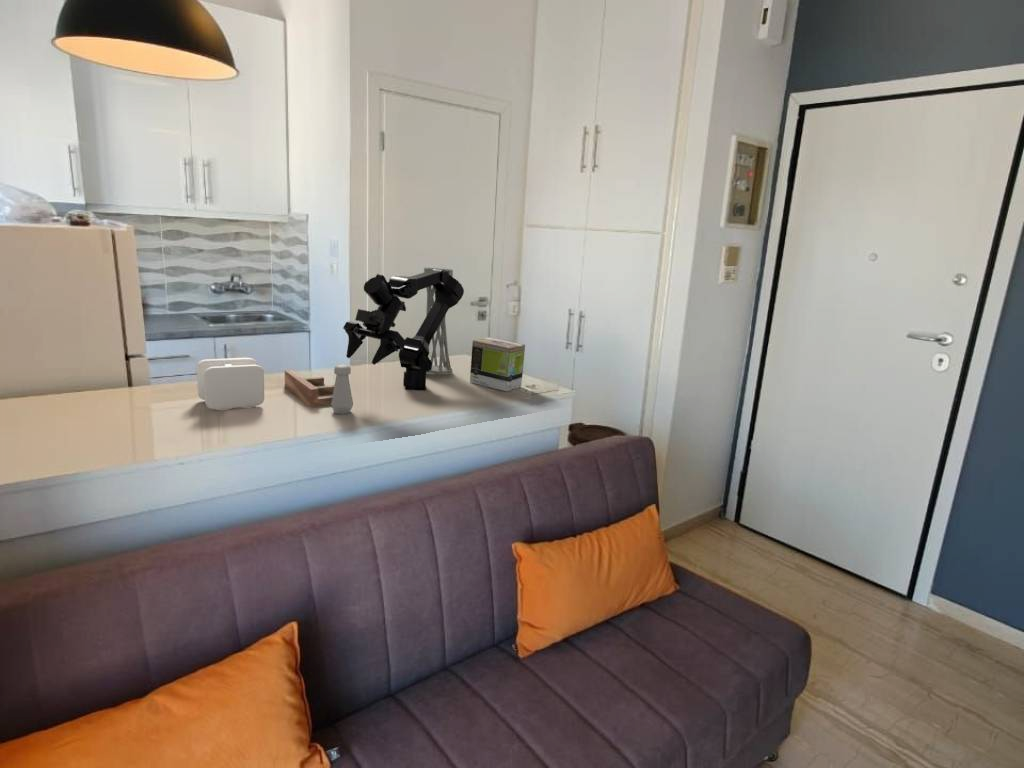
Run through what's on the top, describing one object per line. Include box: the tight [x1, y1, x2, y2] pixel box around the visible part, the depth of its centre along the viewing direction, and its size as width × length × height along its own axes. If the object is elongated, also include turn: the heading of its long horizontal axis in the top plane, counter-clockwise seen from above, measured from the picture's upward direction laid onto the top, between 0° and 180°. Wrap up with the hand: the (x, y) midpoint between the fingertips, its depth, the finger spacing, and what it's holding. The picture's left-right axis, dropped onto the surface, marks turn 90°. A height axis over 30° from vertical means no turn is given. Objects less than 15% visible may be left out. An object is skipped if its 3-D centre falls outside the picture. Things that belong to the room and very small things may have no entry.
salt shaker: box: [330, 364, 354, 415], centre depth 165 cm, size 6×6×13 cm
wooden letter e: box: [284, 369, 335, 408], centre depth 179 cm, size 12×20×5 cm, turn 39°
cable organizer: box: [196, 357, 265, 411], centre depth 164 cm, size 15×11×12 cm
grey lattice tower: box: [423, 266, 454, 375], centre depth 210 cm, size 14×13×35 cm
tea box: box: [469, 336, 526, 392], centre depth 204 cm, size 15×10×15 cm
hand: (360, 360), depth 170 cm, fingers open, 9 cm apart
